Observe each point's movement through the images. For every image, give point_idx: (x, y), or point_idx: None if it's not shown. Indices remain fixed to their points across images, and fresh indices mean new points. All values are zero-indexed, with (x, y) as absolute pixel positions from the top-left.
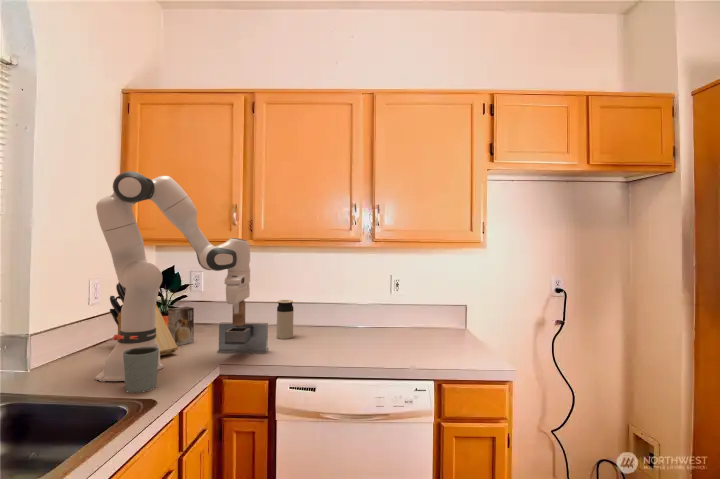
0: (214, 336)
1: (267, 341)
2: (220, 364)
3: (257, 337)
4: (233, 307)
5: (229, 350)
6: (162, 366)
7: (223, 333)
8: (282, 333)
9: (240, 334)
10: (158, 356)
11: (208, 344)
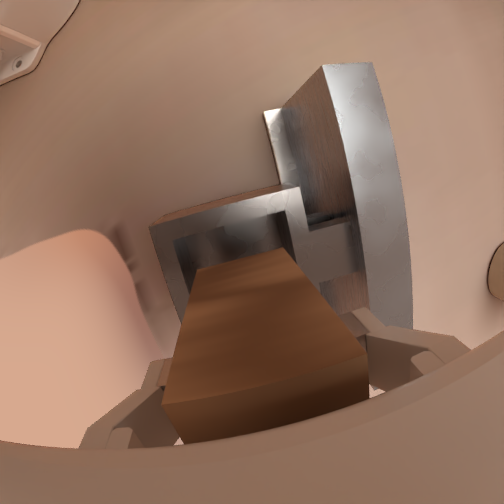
0: (457, 14)
1: None
2: (113, 233)
3: (341, 312)
4: (177, 368)
5: (290, 161)
6: (25, 71)
7: (309, 114)
8: (500, 280)
9: None
10: (16, 41)
11: (369, 20)
